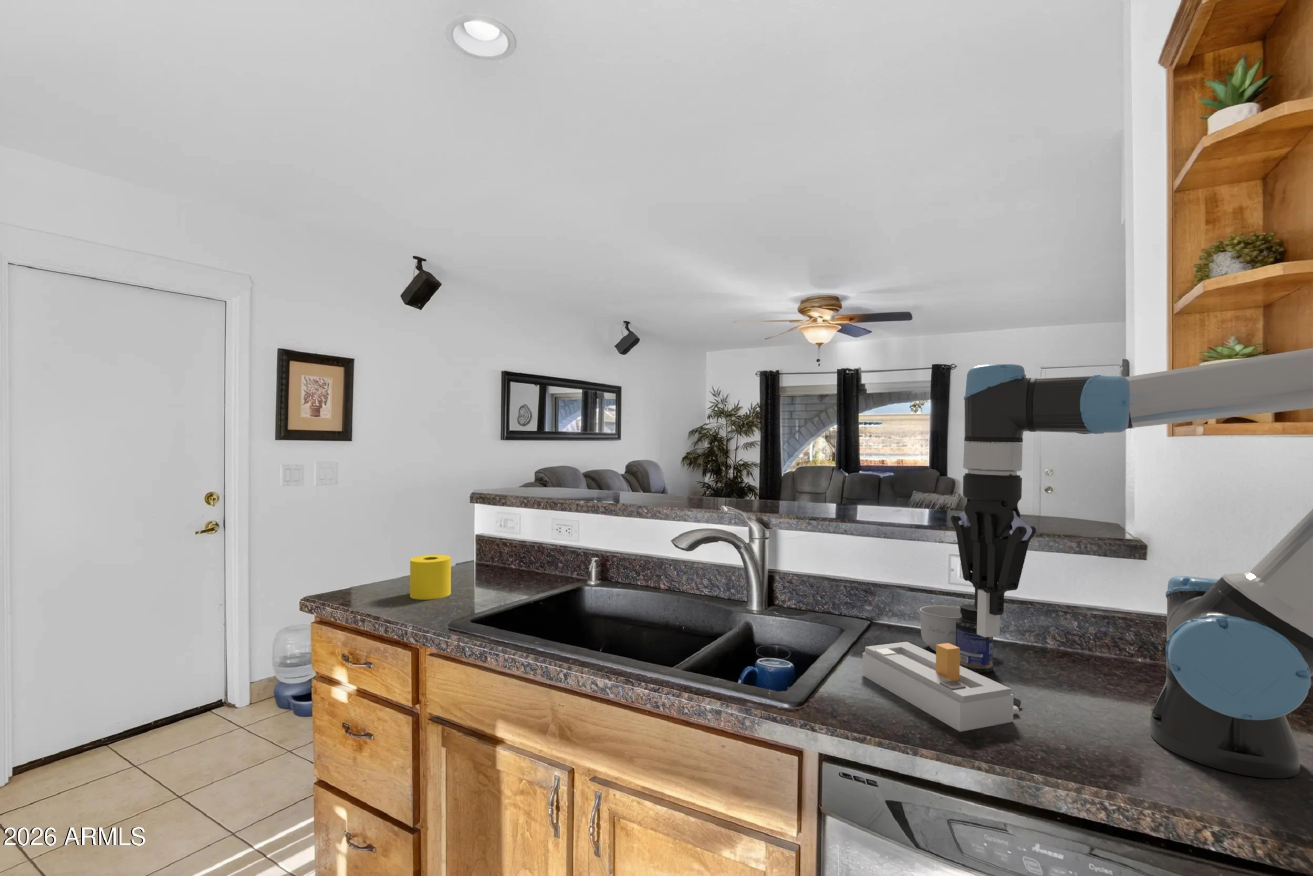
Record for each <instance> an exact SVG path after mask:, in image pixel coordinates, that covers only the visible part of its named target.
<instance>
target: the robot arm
mask: <svg viewBox="0 0 1313 876" xmlns="http://www.w3.org/2000/svg"><path fill="white" fill-rule="evenodd" d="M964 394H965V395H964V396H963V400H964V438H963V440H964V441H963V459H962V460H963V462H962V463H963V464H962V465H963V466H962V468H963V469H965V470H967V472H965V473H964V474H963V475H962V496H963V497H964V498H965V499H966V502H965V505H964V508H963V511H962V512H961V513H959V514H953V515H951V516H950V522H951V523H952V525H953V527H954V528H953V529H954V530H955V535H956V541H957V547H958V553H959V560H960V566H961V573H962V578H963V579H964V581H965V582H969V583H971V584H972V586H973V588H974V604H973V605H975V609H977V634H978V635H980V636H983V637H992V636H993V637H997V636H998V637H999V636H1000V633H1001V615H1003V614H1004V613H1005V612H1004V611H1005V593H1007V592H1009V591H1016V590H1018V587H1019V585H1020V580H1021V577H1022V572H1023V569H1024V565H1025V560H1026V558H1027V557H1026V556H1027V553H1028V548H1029V546H1030V545H1029V544H1030V542H1031V540H1032V539H1033V537H1034V536H1035V535H1036V533H1037V529H1036V527H1035V526H1034V525H1027V523H1025V522H1024V521H1023V520H1022V519H1021V512H1020V510H1019V507H1018V505H1019V502H1020V501H1021V500H1022V495H1023V493H1022V491H1023V489H1022V487H1023V477H1021V475H1020V474H1018V472H1021V471H1022V470H1023V446H1024V445H1023V443H1024V438H1023V436H1024V432H1030V433H1036V432H1037V433H1038V432H1041V433H1042V432H1043V433H1045V432H1046V433H1069V434H1070V433H1071V434H1073V433H1074V434H1080V435H1090V434H1093V435H1094V434H1095V435H1098V434H1099V435H1101V434H1107V433H1108V434H1109V433H1110V434H1111V433H1113V434H1115V433H1122V432H1125V431H1126V430H1127V429H1133V428H1135V429H1136V428H1143V427H1152V426H1153V427H1154V426H1160V425H1161V426H1162V425H1170V424H1178V423H1179V424H1180V423H1188V422H1197V421H1199V422H1200V421H1206V420H1216V419H1225V418H1227V419H1228V418H1235V417H1245V416H1252V415H1262V414H1271V413H1280V412H1282V413H1283V412H1290V411H1299V410H1300V411H1301V410H1306V409H1307V410H1309V409H1313V347H1312V348H1307V349H1299V350H1293V351H1286V352H1280V353H1274V354H1273V353H1272V354H1268V355H1267V354H1266V355H1261V356H1254V357H1248V358H1247V357H1245V358H1242V359H1241V358H1240V359H1235V360H1227V361H1222V362H1214V363H1209V364H1202V365H1195V366H1189V367H1182V368H1177V369H1169V370H1165V371H1155V372H1149V373H1143V374H1138V375H1131V376H1123V375H1122V376H1121V375H1101V374H1093V375H1088V376H1087V375H1086V376H1066V377H1065V376H1064V377H1046V378H1045V377H1044V378H1037V377H1036V378H1035V377H1027V374H1026V373H1025V367H1024V366H1022V365H1020V364H1014V363H1009V364H1008V363H1005V364H999V363H998V364H997V363H996V364H994V363H993V364H981V365H976V366H973V367H971V368H970V369H969V370H968V371H967V373H966V383H965V393H964ZM1165 598H1166V644H1165V657H1166V665H1165V666H1166V672H1165V675H1166V676H1165V678H1166V679H1165V683H1164V685H1163V687H1162V689H1161V691H1160V694H1159V696H1158V699H1157V700H1156V703H1155V704H1154V707H1153V709H1152V711H1151V713H1150V715H1149V717H1150V718H1149V734H1150V736H1151V738H1152V739H1154V741H1156V743H1158V744H1159V745H1160V746H1162V747H1164V749H1165V748H1166V749H1167V750H1169V751H1171V752H1172V753H1174V754H1176V755H1178V756H1181V757H1183V758H1185V759H1188V760H1191V761H1192V762H1195V763H1198V764H1201V765H1202V766H1203V765H1204V766H1206V767H1210V768H1212V769H1213V768H1214V769H1216V770H1221V771H1224V772H1227V773H1228V772H1229V773H1233V774H1238V775H1243V776H1249V777H1255V778H1262V779H1286V778H1287V779H1288V778H1291V777H1294V776H1296V775H1298V774H1299V773H1300V771H1301V752H1300V749H1299V746H1298V744H1297V742H1296V738H1295V736H1294V734H1293V732H1292V729H1291V726H1290V723H1289V721H1288V719H1287V716H1286V715H1288V714H1290V713H1292V712H1293V711H1294V710H1296V709H1298V708H1299V707H1300V706H1301V705H1303V702H1304V701H1305V699H1306V698H1307V697H1308V695H1309V690H1310V688H1311V687H1312V676H1313V508H1312V509H1311V510H1310V511H1309V512H1308V513H1307V514H1306V515H1305V516H1304V517H1303V518H1302V519H1301V520H1299V522H1298V523H1297V524H1296V525H1295V526H1294V527H1293V528H1292V529H1290V531H1289V532H1287V534H1286V535H1285V536H1284V537H1283V538H1282V539H1281V540H1280V541H1279V542H1278V543H1276V544H1275V546H1274V547H1272V549H1271V550H1270V551H1268V552H1267V554H1266V555H1265V556H1264V557H1263V558H1262V559H1260V561H1259V562H1258V563H1257V564H1255V566H1254V567H1253V568H1252V569H1250V571H1246V572H1242V573H1241V572H1237V573H1224V574H1223V575H1222V576H1221V577H1220V578H1219V579H1217V578H1208V577H1200V576H1199V577H1198V576H1197V577H1196V576H1185V575H1176V576H1172V577H1171V578H1169V580H1168V583H1167V590H1166V592H1165Z"/></svg>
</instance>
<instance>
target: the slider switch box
mask: <svg viewBox="0 0 1313 876" xmlns="http://www.w3.org/2000/svg"><path fill="white" fill-rule="evenodd" d="M862 676H863V677H865V678H866V679H868V680H870V681H871V682H874V684H877V685H878V686H879V687H882V688H883V689H886V690H887V691H888V692H891V693H892V694H893V695H896V696H897V697H899V698H901V699H903V700H904V701H906V702H908V703H910V704H911V705H913V706H915V707H916V708H918V709H920V710H922V711H923V712H925V713H927V714H928V715H930V716H931V717H934V718H935V719H937V720H939V721H940V722H942V723H944V724H946V725H947V726H949V727H950V728H952V729H954V730H956V731H957V732H967V731H971V730H975V729H982V728H987V727H992V726H999V725H1004V724H1008V723H1013V722H1014V715H1013V697H1014V694H1012V688H1011V687H1008V686H1006V685H1003V684H1002V683H999V682H997V681H995V680H993V679H991V678H988V677H986V676H984V675H981V673H980V674H979V673H978V672H973V671H971V670H969V669H966V668H964V667H962V666H960V680H955V681H952V680H950V679H948V678H946V677H944V676H942V675H940V674H938V673H936V653H933V652H930V651H929V650H926V649H924V648H922V647H919V646H917V645H915V644H912V643H911V642H908V641H902V642H894V643H893V642H892V643H885V644H876V645H870V646H865V647H864V652H862Z"/></svg>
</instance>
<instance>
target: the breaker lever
mask: <svg viewBox="0 0 1313 876" xmlns="http://www.w3.org/2000/svg"><path fill="white" fill-rule="evenodd" d="M935 655H936V673H938V674H940V675H942V676H944V677H946V678H948V679H950V680H952V681H955V680H960V648H959V647H957V646H954V645H952V644H949V643H944V644H936V651H935Z"/></svg>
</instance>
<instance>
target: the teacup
mask: <svg viewBox="0 0 1313 876" xmlns="http://www.w3.org/2000/svg"><path fill="white" fill-rule="evenodd" d="M919 613H920V617H919V618H920V619H919V620H920V622H919V623H920V633H921V634H920V635H921V639H922V640H923V642H924V643H925V644H926V645H928V646H929V647H930V649H931V650H933V652H934V651H935V652H936V644H944V643H949V644H952V645H954V646H956V621H957V619H959V618H961V617H962V614H961V613H960V607H958V606H951V605H940V604H939V605H927V606H922V607H920V608H919Z"/></svg>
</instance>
